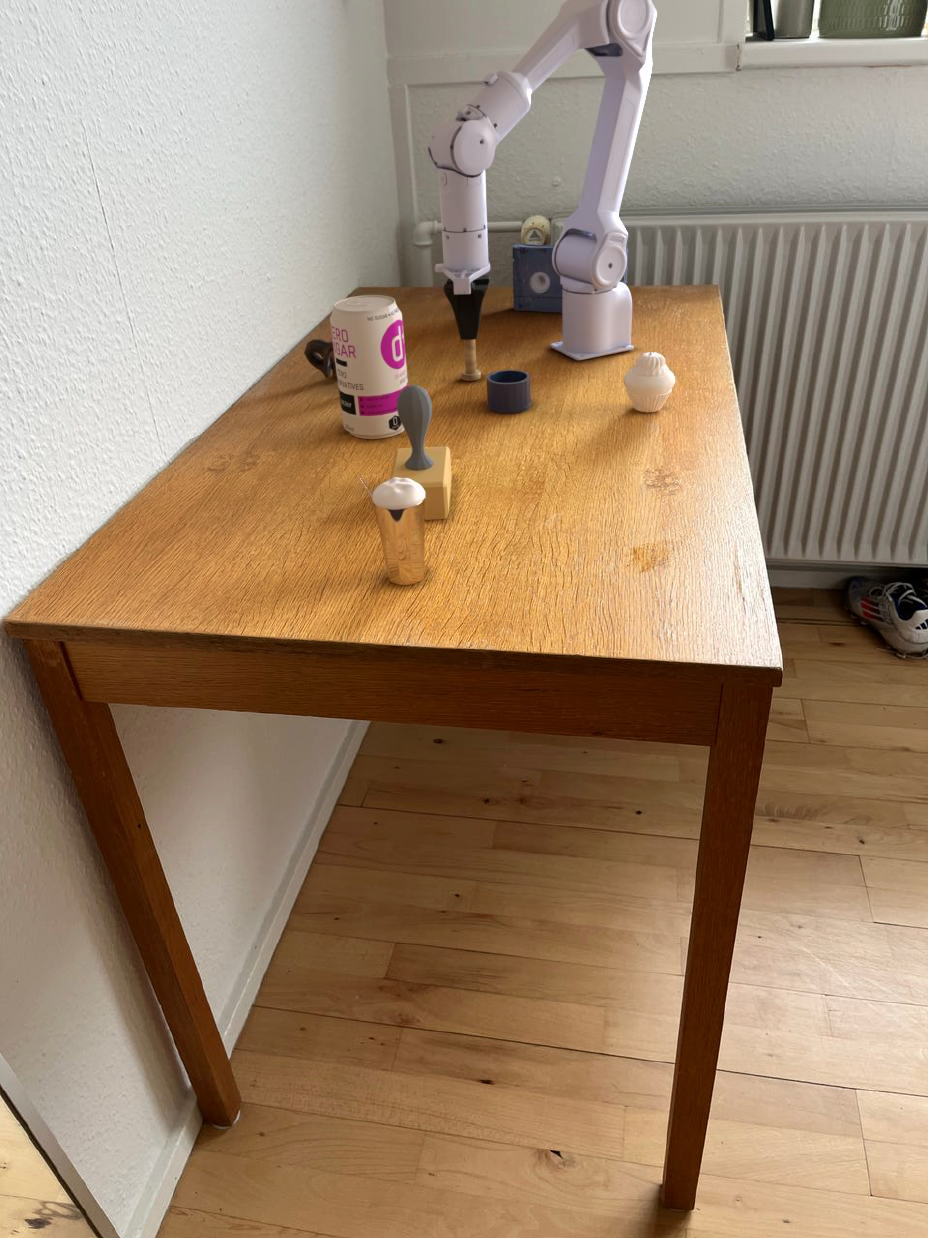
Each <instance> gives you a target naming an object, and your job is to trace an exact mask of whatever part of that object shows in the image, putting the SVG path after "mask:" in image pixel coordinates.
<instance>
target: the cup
mask: <svg viewBox="0 0 928 1238" xmlns="http://www.w3.org/2000/svg"><path fill="white" fill-rule="evenodd" d="M485 380H486V403H487V409H488V410H489V411H491V412H493V413H497V414H504V415H505V414H506V415H510V414H518V413H522V412H525V411H528V410H529V409H530V408H531V404H532V403H531V402H532V399H531V398H532V395H531V392H532V391H531V375H530V373H529V372H527V371H524V370H519V369H501V370H496V371H493V372H490V373H489V374H487V376H486V379H485Z"/></svg>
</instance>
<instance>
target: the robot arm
mask: <svg viewBox="0 0 928 1238" xmlns="http://www.w3.org/2000/svg"><path fill="white" fill-rule="evenodd" d="M657 16H658V11H657V9H656V7H655V5H654V3H653V0H566V1H564V2H563V3H562V4H561V5H560V8H559V10H558V14H557V16H556V17H555V18H554V19H553V20H552V22H551V23H550V24H549V25H548V27H547V28H546V29H545V30H544V32H543V33H542V34H541V35H540V36H539V37H538V38H537V40H536V41H535V42H534V43H533V45H532V46H531V47H530V48H529V49H528V50H527V52H526V53H525V54H524V56H523V57H522V58H521V59H520V60H519V61H518V63H516V65H515V66H514V68H513V69H512V70H511V71H509V70H501V69H500V70H498V71H496V72H495V73H489V72H488V73H487V74H486V75H485V77H483V78H482V83H483V86H482V87H481V88H480V89H479V90H478V91H477V92H476V94H474V95H473V97H472V98H471V99H470V100H469V101H468V102H467V103H466V104H461V105H459V107H458V108H457V109H456V110H455V111H456V115H455V119H449V120H448V119H447V120H444V121H442V122H441V123H439V124H438V125H437V127H436V128H435V129H434V131H433V133H432V137H431V139H430V145H429V146H427V148H426V150H427V156H428V159H429V161H430V163H431V164H432V166H433V167H434V168H435V170H436V173H437V182H438V188H439V206H440V223H441V224H440V225H441V237H442V238H441V240H442V256H443V262H442V263H436V264H435V265H434V272H435V273H441V274H444V275H445V276H446V277H447V278H448V279H447V280H446V283H444V285H443V292H444V295H445V297H446V298H447V300H448V302H449V305H450V306H451V309H452V311H453V314H454V318H455V322H456V326H457V327H456V328H457V332H458V334H459V337H460V340H462V341H464V340H473V339H475V340H477V339H478V335H479V331H480V325H481V317H482V308H483V301H484V298H485V296H486V294H487V291H488V289H489V283H490V281H491V276H490V275H488V273H489V272H490V271H491V263H490V261H489V240H488V239H489V237H488V213H487V212H488V211H487V209H488V208H487V183H486V181H487V180H486V179H487V178H486V170H487V169H489V168H490V167H491V166H492V163H493V161H494V158H495V153H496V149H497V146H498V145H499V144H500V142H502V141H503V139H504V138H505V137H506V136H507V135H508V134H509V133H510V132H511V131H512V130H513V128H515V126H516V125H517V124H518V123H519V122H520V121H521V120H522V119H523V118H524V117H525V116H526V114H527V113H528V112H529V111H530V110H531V105H532V102H531V101H532V99H531V98H532V96H531V95H532V94H533V93H534V92H535V91H536V90H537V89H538V88H539V87H540V86H541V85H542V84H543V83H544V82H546V80H547V79H549V77H550V76H551V75H552V74H554V73H555V72H556V71H557V70H558V69H559V68H560V67H561V66H562V65H563V64H564V63H565V62H566V61H568V59H570V57H571V56H572V55H573V54H575V52H577V51H578V50H582V49H583V50H584V51H585V52H586V53H587V54H588V55H589V56H590V57H591V58H592V59H593V60H594V61H595V62H596V63H597V65H598V66H599V68H600V70H601V72H602V73H603V76H604V78H605V80H604V85H603V90H602V94H601V99H600V104H599V108H598V113H597V118H596V123H595V128H594V132H593V137H592V142H591V147H590V152H589V155H588V161H587V166H586V170H585V174H584V179H583V184H582V189H581V194H580V198H579V203H578V207H577V209H576V210H575V211H574V212H573V213H571V214H570V215H569V216H568V217H567V218H566V219H565V220H564V222H563V226H562V227H563V228H562V231H561V234H560V236H559V237H558V238H557V241H556V242H555V244H554V245H555V246H554V249H553V252H552V264H553V267H554V270H555V272H556V273H557V274H558V275H559V276H560V284H562V285H563V299H562V312H561V314H562V315H561V316H562V318H561V319H562V322H561V324H562V325H561V326H562V329H561V334H562V335H561V341H558V342H552V343H550V348H552V349H553V350H556V351H557V352H560V354H561V353H562V354H564V355H565V356H567V357H570V358H571V359H573V360H575V361H583V360H588V359H593V358H598V357H603V356H608V355H612V354H617V353H622V352H623V353H624V352H627V351H632V350H634V347H635V346H634V345H633V344H632V326H633V325H632V323H633V298H632V294H631V291H630V289H629V287H628V286H627V285H625V284H624V283H622V282H619V281H620V280H621V279H622V277H623V275H624V273H625V270H626V266H627V267H628V256H627V255H626V247H627V242H628V239H629V233H628V231H627V230H626V227H625V225H624V224H623V221H621V219H620V217H619V214H620V211H621V205H622V203H623V202H622V201H623V196H624V192H625V189H626V184H627V179H628V175H629V172H630V171H629V170H630V166H631V162H632V158H633V153H634V149H635V144H636V140H637V136H638V131H639V128H640V122H641V119H642V114H643V109H644V105H645V101H646V97H647V93H648V87H649V83H650V80H651V74H652V69H653V68H652V67H653V57H652V55H653V54H652V53H653V52H652V38H653V32H654V29H655V24H656V20H657ZM592 235H594V236H592Z"/></svg>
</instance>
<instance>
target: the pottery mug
mask: <svg viewBox="0 0 928 1238" xmlns="http://www.w3.org/2000/svg"><path fill="white" fill-rule="evenodd" d="M303 354H304V355H305V358H306V360H307V361H308V362H309V363H310V365H311V366H312V367H314V369H316V370H317V371H320V372H321V374H322V375H323V376H324V377H325V379H329V378H330V375H331V373H332V377H333V378H337V372H336V364H335V356H334V348H333V341H328V340H325V339H322V338H314V339H311V340H309V341H308V342H307V343H306V345H305V348H304V351H303ZM320 356H321V357H320Z"/></svg>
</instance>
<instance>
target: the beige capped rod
mask: <svg viewBox="0 0 928 1238" xmlns="http://www.w3.org/2000/svg"><path fill="white" fill-rule="evenodd" d="M463 347H464V348H463V349H464V366H465V367H464V368H465V369H464V370H462V371H461V379H462V380H463V381H467V382H473V381H478V380H480V379H481V377H482V372H481V370H479V369H477V351H476V350H477V347H476V339H473V340H463Z"/></svg>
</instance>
